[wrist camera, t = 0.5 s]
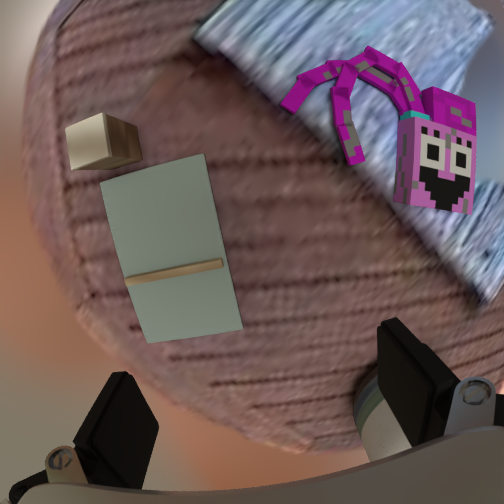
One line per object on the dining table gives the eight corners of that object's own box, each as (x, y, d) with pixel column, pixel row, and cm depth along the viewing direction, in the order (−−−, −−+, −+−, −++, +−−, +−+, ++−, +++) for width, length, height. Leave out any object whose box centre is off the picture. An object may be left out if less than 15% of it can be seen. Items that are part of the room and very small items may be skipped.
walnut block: (105, 137, 34) (65, 128, 24) (136, 126, 34) (102, 112, 24) (111, 169, 35) (71, 169, 25) (142, 159, 35) (108, 155, 25)
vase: (409, 322, 41) (501, 421, 18) (444, 373, 44) (511, 456, 21) (326, 391, 44) (368, 516, 20) (374, 429, 47) (416, 525, 24)
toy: (278, 190, 32) (287, 23, 27) (273, 188, 36) (282, 40, 31) (471, 214, 32) (472, 76, 28) (451, 209, 37) (454, 83, 32)
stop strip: (127, 276, 38) (124, 279, 36) (222, 257, 37) (221, 259, 36) (129, 283, 38) (126, 286, 37) (223, 264, 38) (223, 267, 36)
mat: (101, 182, 35) (99, 182, 34) (204, 153, 35) (203, 153, 34) (148, 341, 41) (147, 343, 40) (243, 326, 40) (243, 329, 40)
